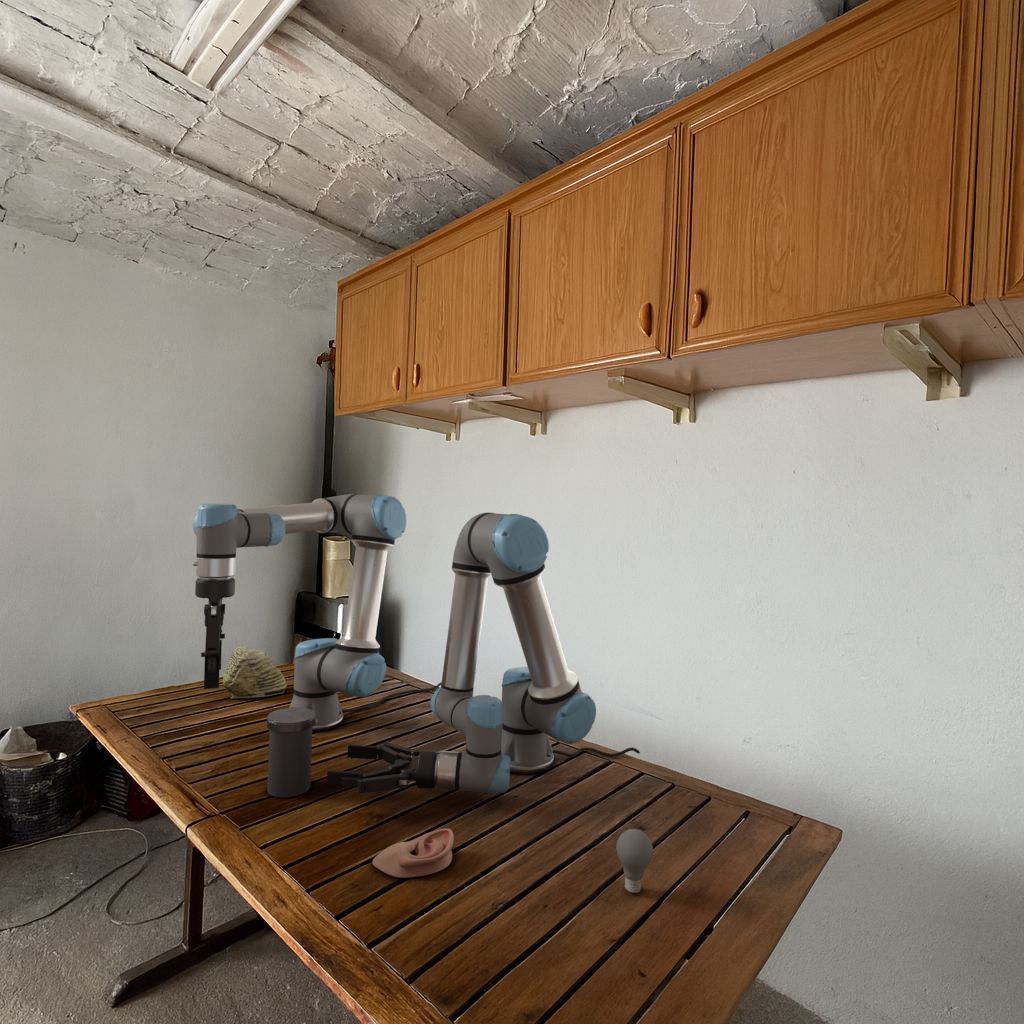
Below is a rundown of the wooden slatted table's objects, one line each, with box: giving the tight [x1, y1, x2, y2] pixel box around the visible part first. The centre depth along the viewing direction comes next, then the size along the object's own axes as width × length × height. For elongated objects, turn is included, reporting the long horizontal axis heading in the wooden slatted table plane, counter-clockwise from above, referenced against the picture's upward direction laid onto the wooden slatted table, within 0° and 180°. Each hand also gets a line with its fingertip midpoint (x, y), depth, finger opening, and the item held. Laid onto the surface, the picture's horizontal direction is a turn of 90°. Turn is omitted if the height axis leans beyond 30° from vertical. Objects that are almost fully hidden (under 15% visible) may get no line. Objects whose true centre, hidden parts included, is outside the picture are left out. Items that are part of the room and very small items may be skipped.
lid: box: [266, 707, 316, 733], centre depth 137 cm, size 10×10×2 cm
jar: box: [266, 727, 313, 798], centre depth 137 cm, size 9×9×16 cm
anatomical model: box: [372, 828, 455, 879], centre depth 112 cm, size 13×4×12 cm
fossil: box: [222, 646, 288, 699], centre depth 198 cm, size 9×18×15 cm, turn 132°
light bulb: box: [615, 828, 654, 894], centre depth 106 cm, size 6×6×10 cm
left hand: (212, 678), depth 133 cm, fingers open, 13 cm apart
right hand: (338, 763), depth 135 cm, fingers open, 13 cm apart
